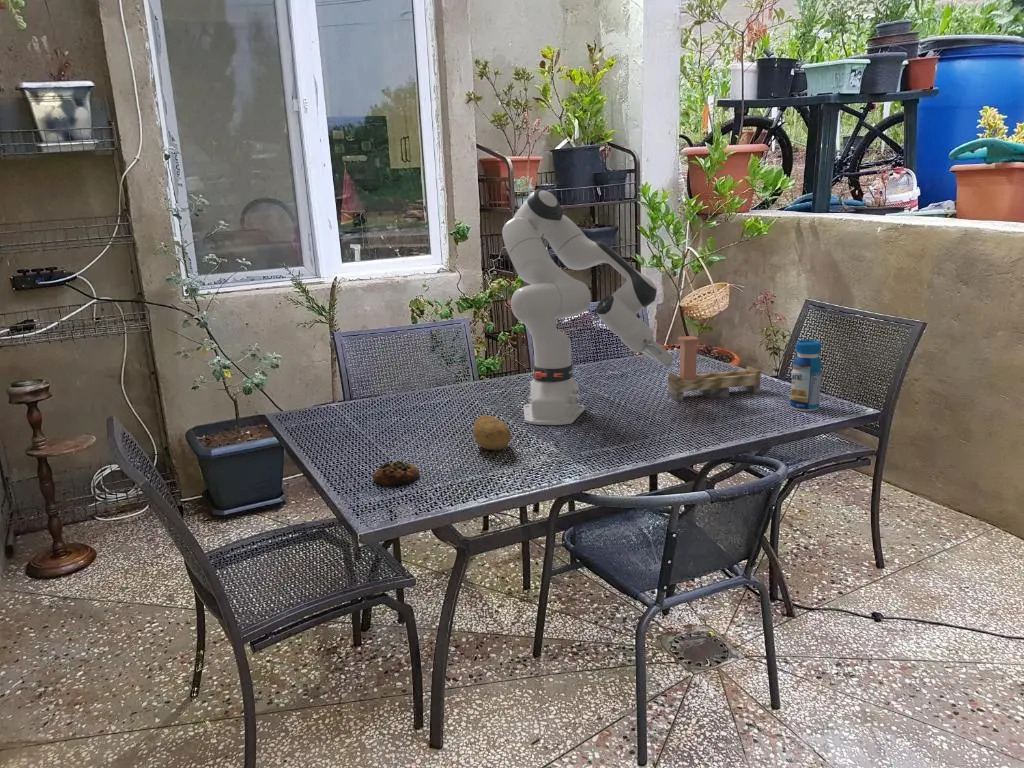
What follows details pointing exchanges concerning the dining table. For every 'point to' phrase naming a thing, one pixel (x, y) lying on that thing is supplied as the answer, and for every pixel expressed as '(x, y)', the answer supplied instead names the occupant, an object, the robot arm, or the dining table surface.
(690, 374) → the terracotta square pillar
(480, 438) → the potato
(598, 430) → the dining table surface
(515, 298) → the robot arm
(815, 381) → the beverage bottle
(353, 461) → the dining table surface
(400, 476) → the bread roll
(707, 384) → the beam
